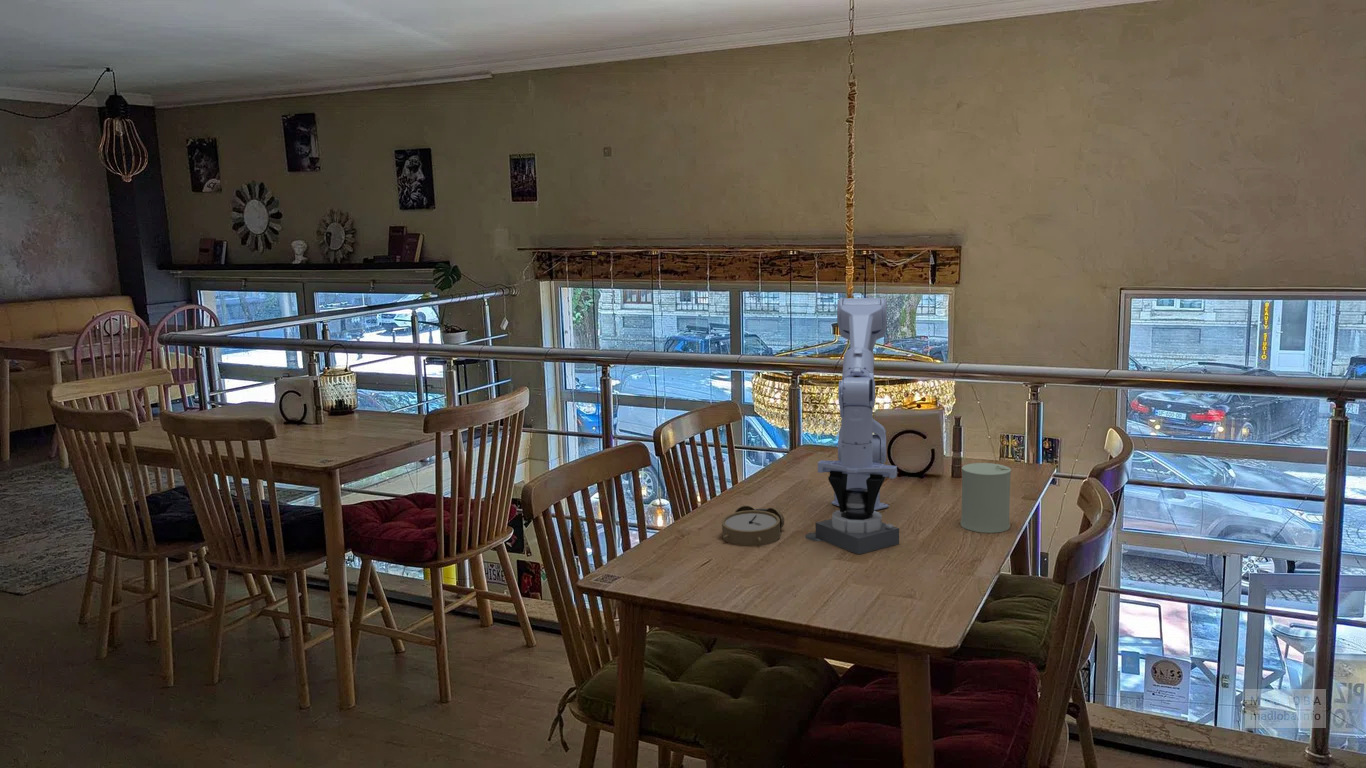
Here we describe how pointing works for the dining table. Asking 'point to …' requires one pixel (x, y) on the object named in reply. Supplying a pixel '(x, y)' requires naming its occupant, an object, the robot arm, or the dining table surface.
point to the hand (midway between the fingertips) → (856, 512)
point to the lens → (856, 504)
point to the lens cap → (812, 537)
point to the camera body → (857, 533)
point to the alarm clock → (752, 526)
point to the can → (985, 497)
